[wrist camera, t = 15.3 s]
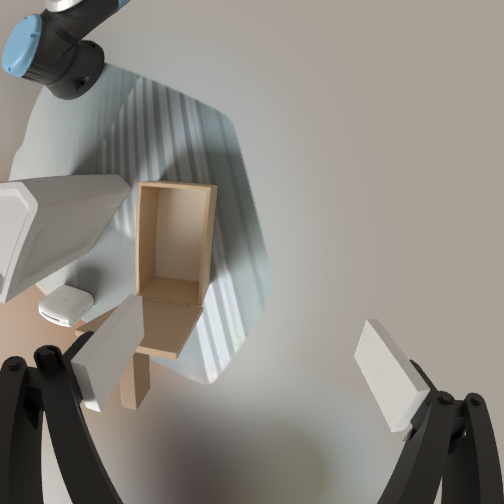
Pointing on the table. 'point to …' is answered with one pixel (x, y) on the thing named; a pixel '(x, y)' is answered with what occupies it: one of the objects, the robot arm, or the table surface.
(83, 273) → the table surface
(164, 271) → the tan rectangular open box
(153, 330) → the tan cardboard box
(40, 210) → the grey tapered bin
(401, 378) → the robot arm
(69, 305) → the photo printer
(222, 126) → the table surface
